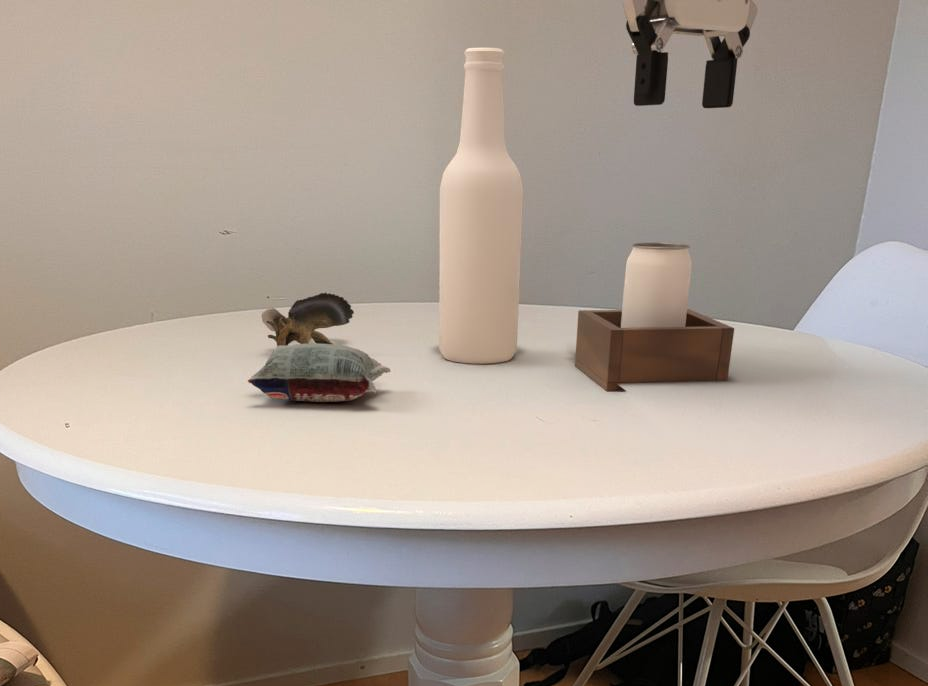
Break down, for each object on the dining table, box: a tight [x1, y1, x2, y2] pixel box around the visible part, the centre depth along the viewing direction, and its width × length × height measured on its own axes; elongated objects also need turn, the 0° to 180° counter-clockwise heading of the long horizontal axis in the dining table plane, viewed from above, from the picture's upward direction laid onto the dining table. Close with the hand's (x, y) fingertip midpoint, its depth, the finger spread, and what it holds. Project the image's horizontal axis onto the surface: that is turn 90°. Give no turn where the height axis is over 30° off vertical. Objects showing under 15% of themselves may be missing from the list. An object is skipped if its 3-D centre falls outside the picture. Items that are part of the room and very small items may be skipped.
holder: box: [574, 308, 735, 392], centre depth 101 cm, size 12×12×6 cm
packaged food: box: [247, 343, 391, 403], centre depth 91 cm, size 9×12×5 cm
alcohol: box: [438, 47, 524, 365], centre depth 104 cm, size 9×9×30 cm
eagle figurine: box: [260, 292, 355, 348], centre depth 111 cm, size 8×7×9 cm
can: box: [621, 242, 693, 328], centre depth 99 cm, size 6×6×12 cm
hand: (683, 106), depth 91 cm, fingers open, 9 cm apart
